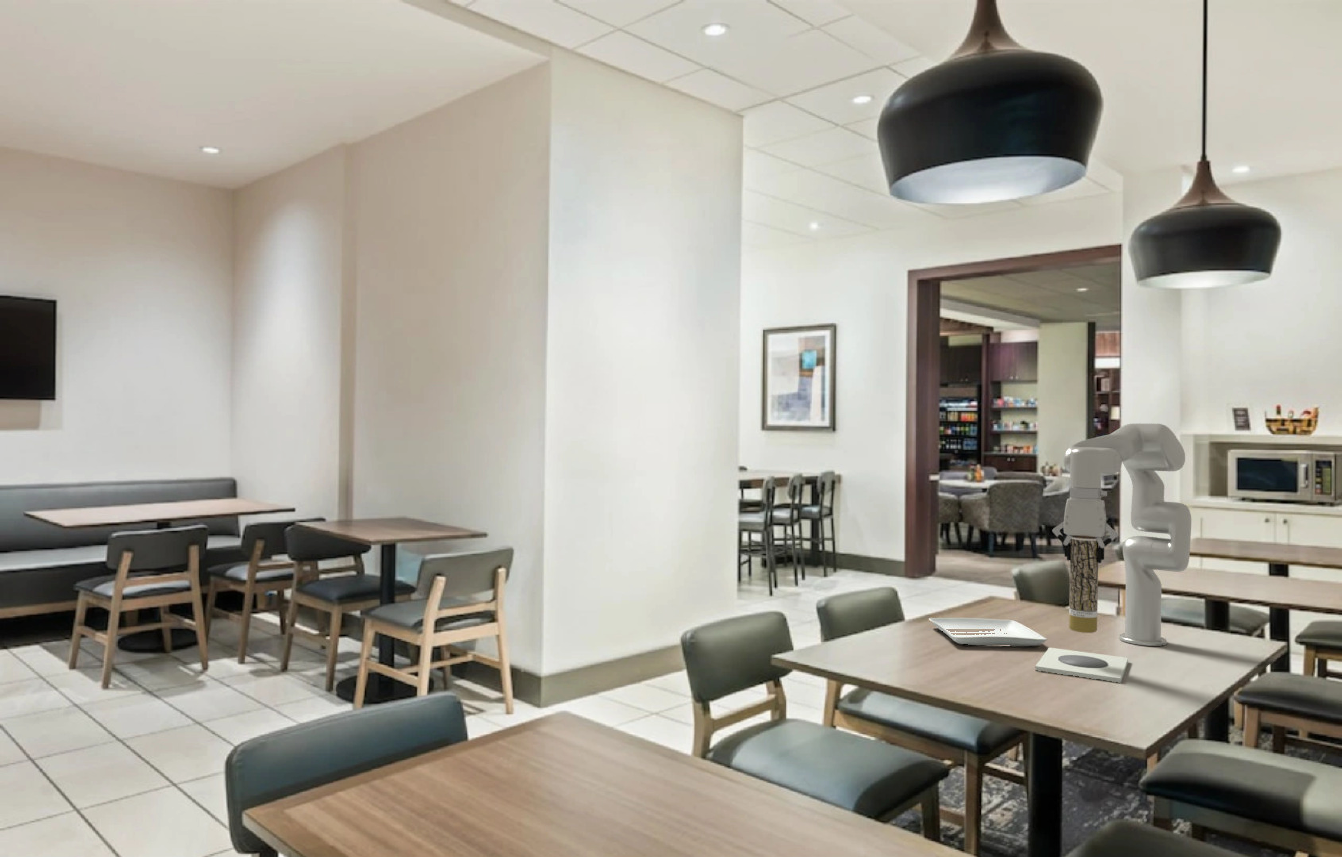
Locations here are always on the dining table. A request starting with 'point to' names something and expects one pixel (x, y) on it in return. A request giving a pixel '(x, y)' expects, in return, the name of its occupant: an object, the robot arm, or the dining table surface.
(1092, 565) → the paper tube
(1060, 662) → the seat board
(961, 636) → the square plate
